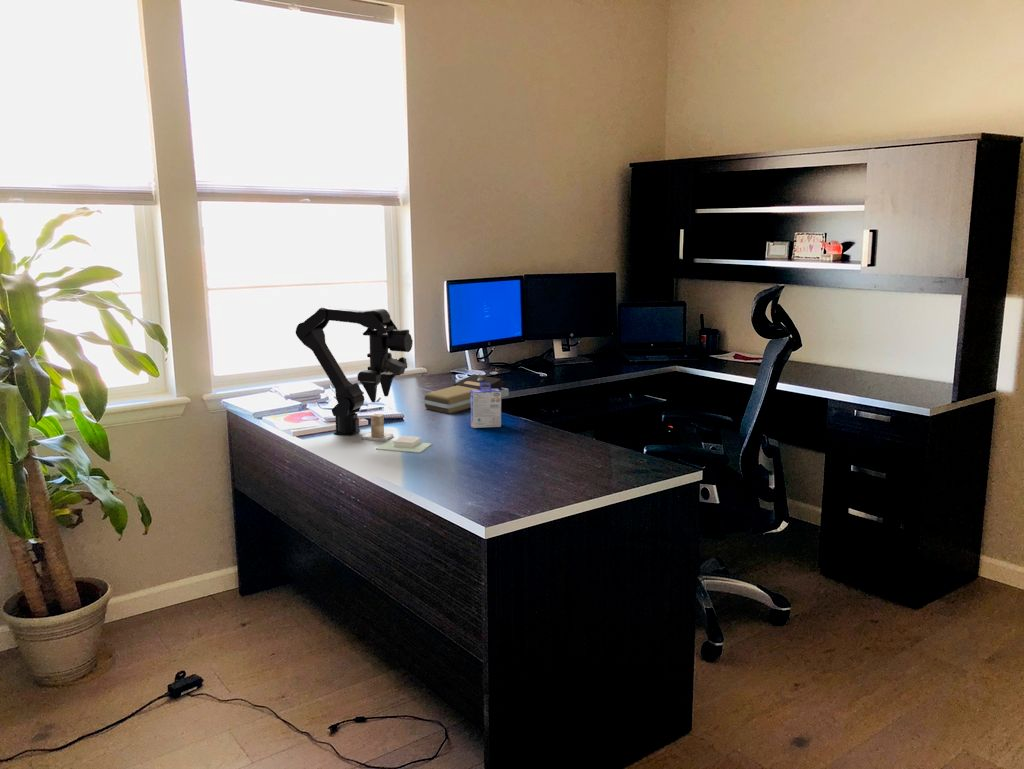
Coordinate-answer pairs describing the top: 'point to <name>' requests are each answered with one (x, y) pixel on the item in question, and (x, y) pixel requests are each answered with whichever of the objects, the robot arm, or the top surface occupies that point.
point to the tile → (407, 441)
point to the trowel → (377, 429)
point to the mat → (416, 449)
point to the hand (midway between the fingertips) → (379, 399)
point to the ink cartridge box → (485, 407)
